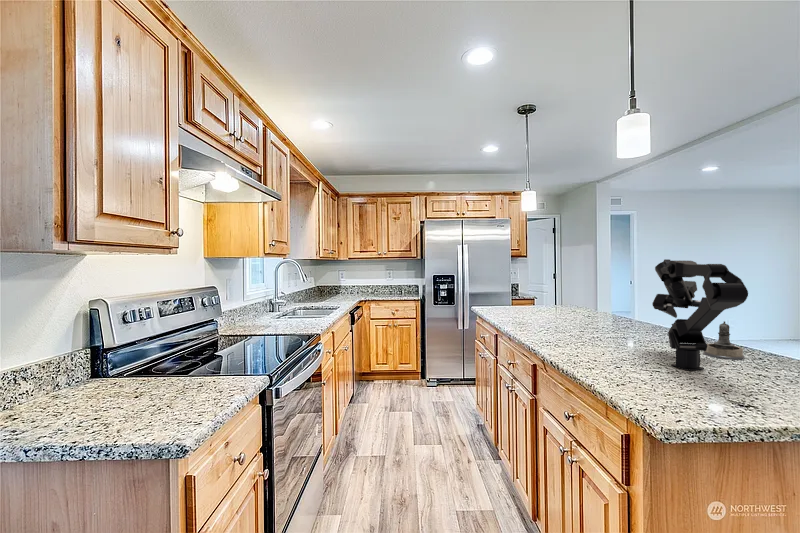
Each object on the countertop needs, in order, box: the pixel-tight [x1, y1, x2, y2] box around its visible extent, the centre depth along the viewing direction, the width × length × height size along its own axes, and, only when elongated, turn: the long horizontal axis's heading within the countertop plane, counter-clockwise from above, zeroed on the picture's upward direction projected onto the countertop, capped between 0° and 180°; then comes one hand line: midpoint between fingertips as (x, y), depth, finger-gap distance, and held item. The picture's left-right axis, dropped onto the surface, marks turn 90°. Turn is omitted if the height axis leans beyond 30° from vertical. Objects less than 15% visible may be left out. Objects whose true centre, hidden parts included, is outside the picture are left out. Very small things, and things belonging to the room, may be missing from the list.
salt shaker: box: [713, 320, 735, 350], centre depth 143 cm, size 6×6×12 cm
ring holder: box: [702, 342, 745, 361], centre depth 144 cm, size 12×12×3 cm
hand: (690, 318), depth 144 cm, fingers open, 9 cm apart
